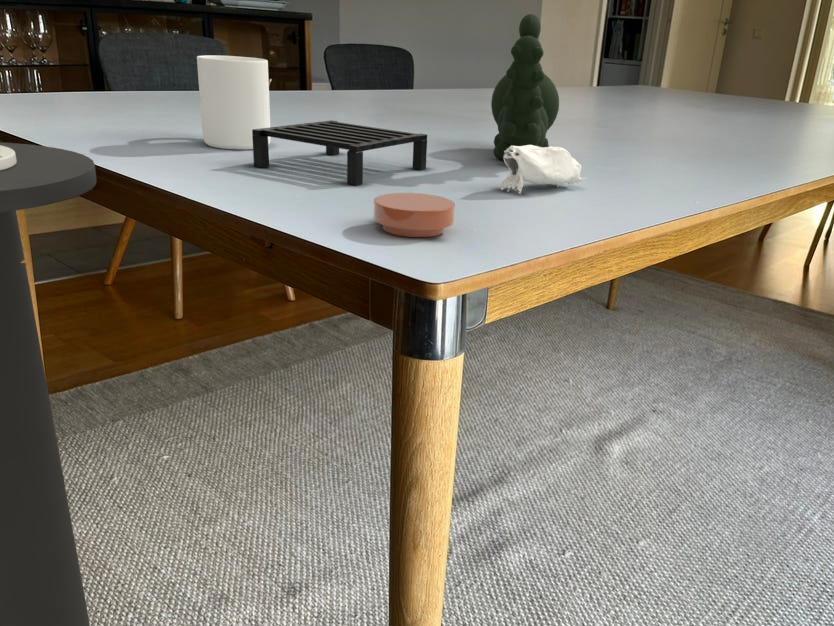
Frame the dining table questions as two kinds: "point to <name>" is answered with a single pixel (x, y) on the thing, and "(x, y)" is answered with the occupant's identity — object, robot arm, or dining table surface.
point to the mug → (233, 99)
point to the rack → (340, 143)
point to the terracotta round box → (414, 214)
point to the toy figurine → (524, 94)
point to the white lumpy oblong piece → (540, 166)
